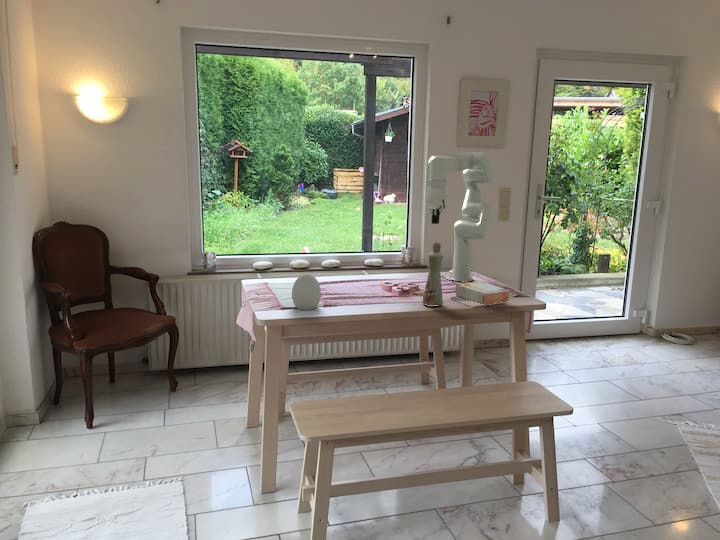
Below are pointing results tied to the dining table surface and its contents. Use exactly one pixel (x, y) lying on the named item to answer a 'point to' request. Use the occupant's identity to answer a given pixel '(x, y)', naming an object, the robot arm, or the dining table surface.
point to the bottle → (434, 278)
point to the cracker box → (482, 292)
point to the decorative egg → (306, 292)
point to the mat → (459, 298)
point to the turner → (417, 292)
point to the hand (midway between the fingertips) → (435, 223)
